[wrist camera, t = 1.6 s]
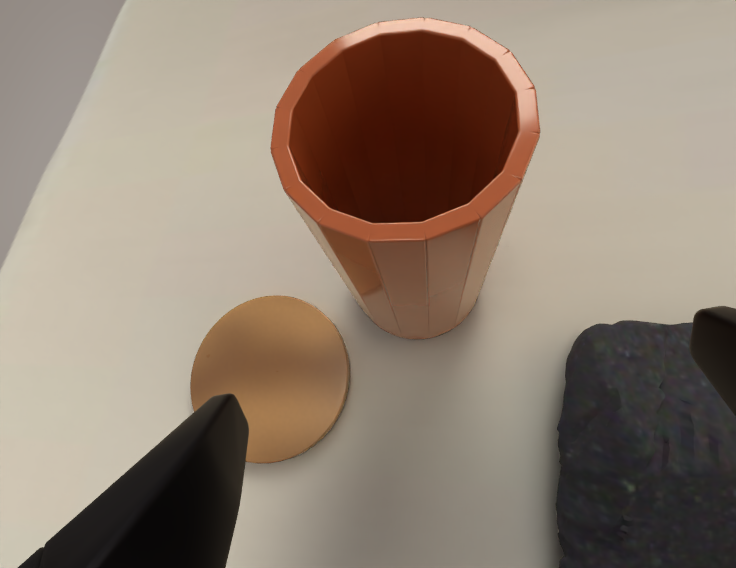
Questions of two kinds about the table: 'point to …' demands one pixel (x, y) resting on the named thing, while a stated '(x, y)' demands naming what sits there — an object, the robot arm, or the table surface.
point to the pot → (408, 164)
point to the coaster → (275, 373)
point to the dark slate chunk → (644, 454)
